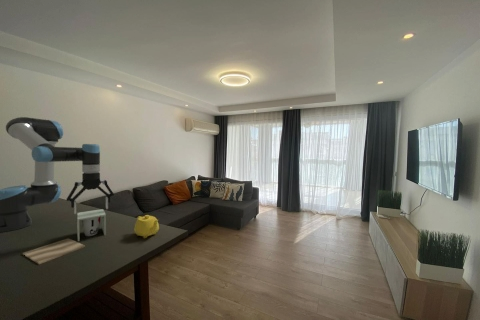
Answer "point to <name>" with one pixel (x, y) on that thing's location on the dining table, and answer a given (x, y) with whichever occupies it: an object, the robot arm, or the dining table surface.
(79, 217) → the cover
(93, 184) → the robot arm
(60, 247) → the mat
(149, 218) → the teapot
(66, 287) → the dining table surface
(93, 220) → the cup
